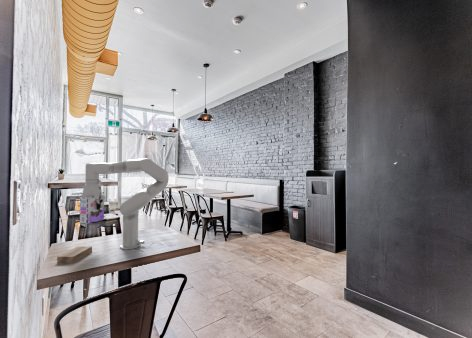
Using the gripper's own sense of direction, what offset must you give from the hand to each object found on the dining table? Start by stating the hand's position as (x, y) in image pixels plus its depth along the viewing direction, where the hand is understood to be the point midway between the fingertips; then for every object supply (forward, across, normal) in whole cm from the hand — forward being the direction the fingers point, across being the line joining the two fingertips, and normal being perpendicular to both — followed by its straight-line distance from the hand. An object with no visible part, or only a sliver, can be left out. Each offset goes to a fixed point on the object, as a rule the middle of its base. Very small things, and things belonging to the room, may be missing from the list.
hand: (92, 209), depth 153 cm
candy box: (+8, 0, 0) cm, 8 cm away
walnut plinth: (+26, +3, +13) cm, 30 cm away
